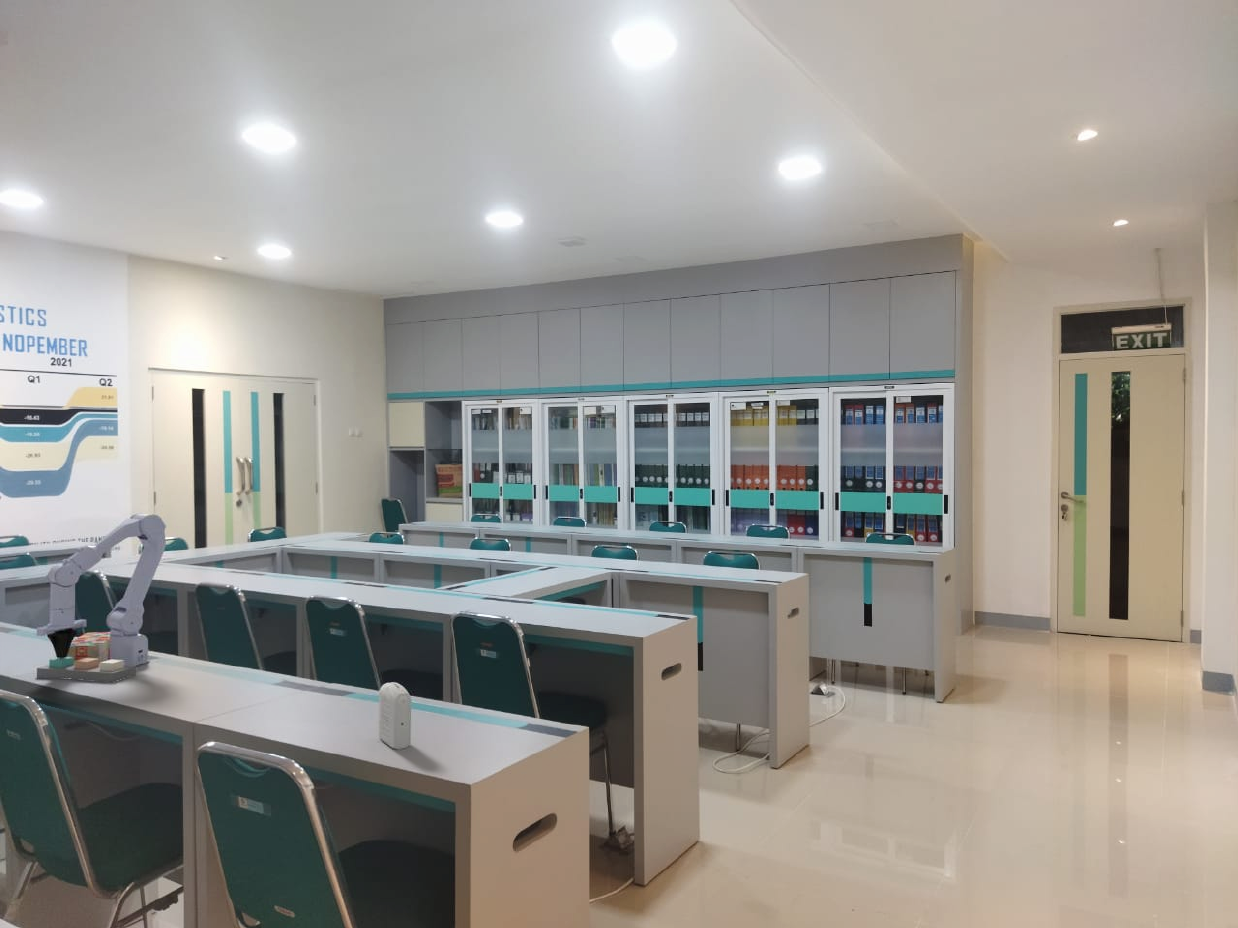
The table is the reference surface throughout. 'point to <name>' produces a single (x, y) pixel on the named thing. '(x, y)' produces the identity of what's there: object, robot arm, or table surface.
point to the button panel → (86, 673)
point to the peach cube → (86, 663)
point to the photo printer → (395, 715)
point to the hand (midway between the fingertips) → (61, 657)
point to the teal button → (61, 662)
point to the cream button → (111, 665)
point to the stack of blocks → (91, 646)
